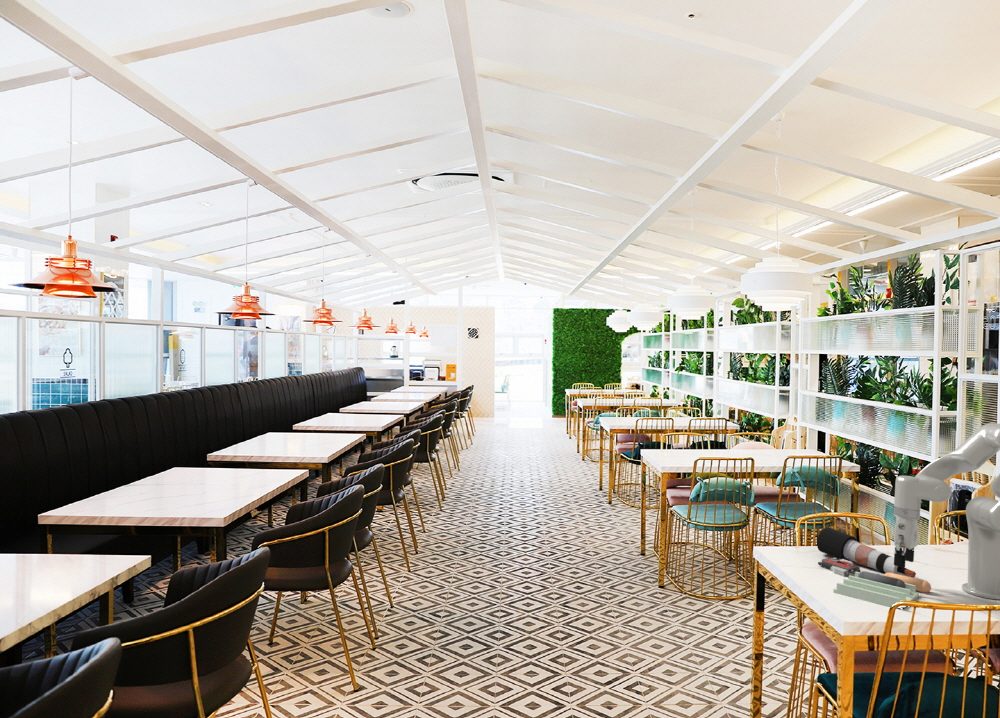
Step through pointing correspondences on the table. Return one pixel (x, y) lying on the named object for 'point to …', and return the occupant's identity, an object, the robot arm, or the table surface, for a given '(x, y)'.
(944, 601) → the table surface
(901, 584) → the gray pill-shaped rod
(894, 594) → the rack
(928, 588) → the tan capsule
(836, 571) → the walkie-talkie
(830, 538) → the cable
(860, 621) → the table surface
